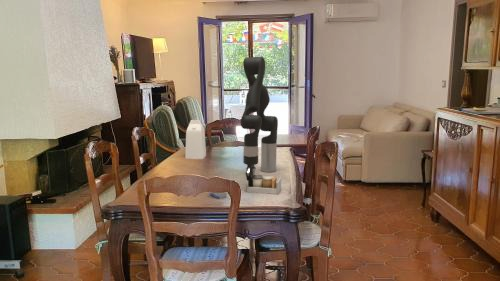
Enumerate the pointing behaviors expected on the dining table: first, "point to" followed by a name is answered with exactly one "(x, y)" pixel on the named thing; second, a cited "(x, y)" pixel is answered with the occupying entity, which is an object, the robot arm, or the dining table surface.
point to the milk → (195, 141)
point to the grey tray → (266, 190)
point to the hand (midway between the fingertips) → (250, 187)
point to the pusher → (274, 182)
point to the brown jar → (267, 181)
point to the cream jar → (257, 181)
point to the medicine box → (219, 195)
